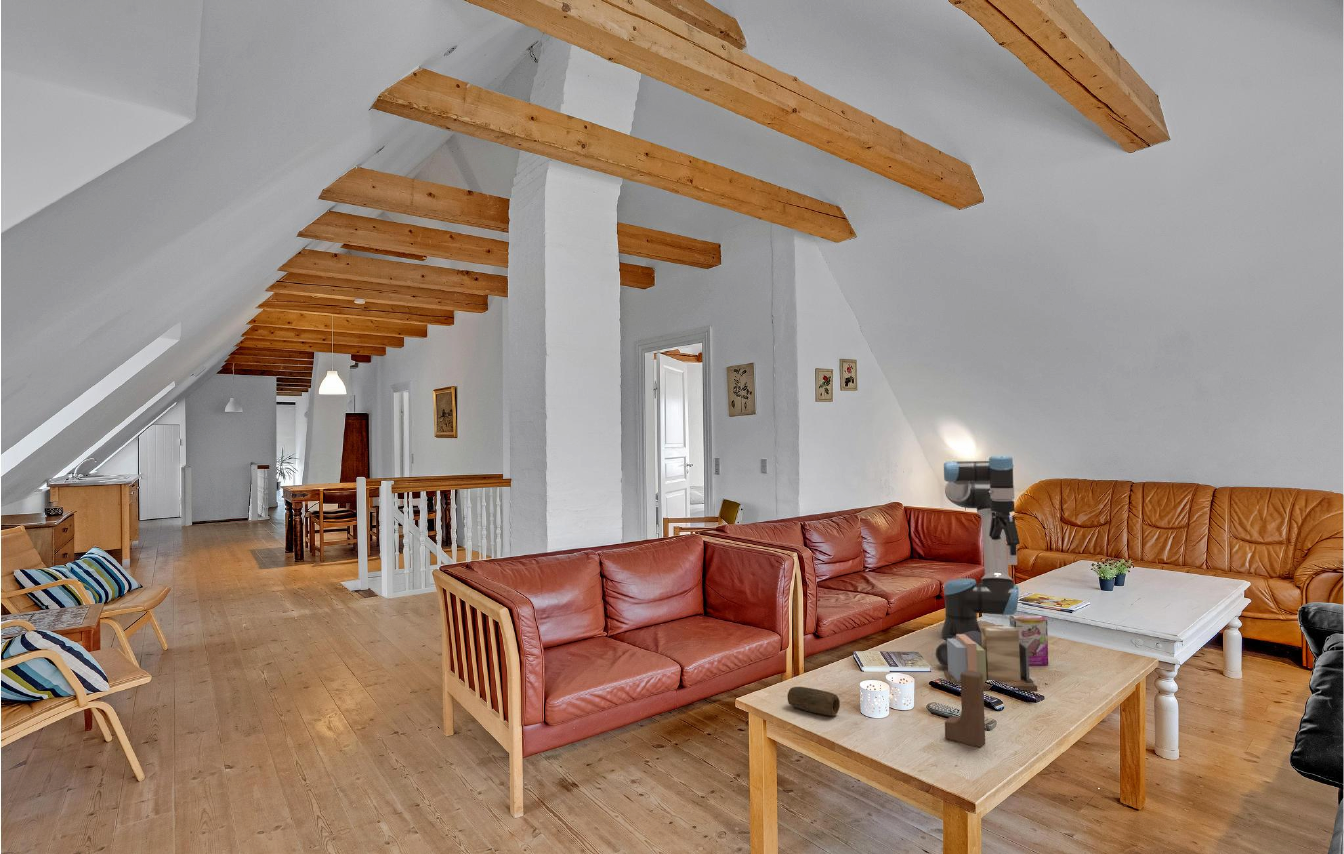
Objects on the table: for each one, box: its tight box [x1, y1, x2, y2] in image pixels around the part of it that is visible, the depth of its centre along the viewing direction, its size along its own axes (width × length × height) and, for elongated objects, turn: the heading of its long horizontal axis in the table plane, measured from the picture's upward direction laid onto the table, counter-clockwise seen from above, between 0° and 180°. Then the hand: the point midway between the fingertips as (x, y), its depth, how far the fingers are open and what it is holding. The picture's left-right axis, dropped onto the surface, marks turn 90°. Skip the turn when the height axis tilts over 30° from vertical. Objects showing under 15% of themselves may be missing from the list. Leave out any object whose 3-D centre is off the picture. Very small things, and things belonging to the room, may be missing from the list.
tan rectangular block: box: [980, 625, 1021, 681], centre depth 217 cm, size 5×10×16 cm, turn 84°
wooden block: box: [944, 670, 986, 748], centre depth 175 cm, size 9×4×18 cm, turn 50°
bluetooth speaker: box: [935, 631, 982, 669], centre depth 236 cm, size 23×9×10 cm, turn 131°
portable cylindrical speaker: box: [786, 686, 841, 717], centre depth 197 cm, size 15×7×7 cm, turn 54°
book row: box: [946, 634, 987, 682], centre depth 218 cm, size 11×9×12 cm
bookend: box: [1019, 642, 1035, 684], centre depth 216 cm, size 8×2×11 cm, turn 174°
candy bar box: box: [1009, 614, 1049, 666], centre depth 235 cm, size 11×5×16 cm, turn 84°
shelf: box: [943, 670, 1038, 692], centre depth 217 cm, size 14×24×2 cm, turn 84°
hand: (1004, 561), depth 232 cm, fingers open, 13 cm apart
